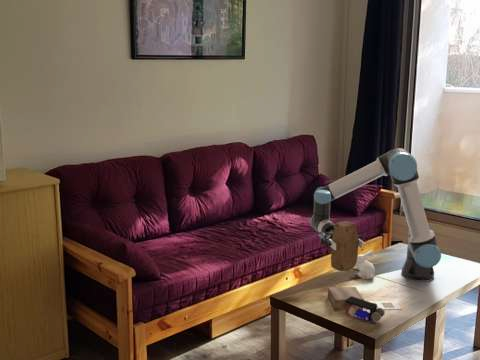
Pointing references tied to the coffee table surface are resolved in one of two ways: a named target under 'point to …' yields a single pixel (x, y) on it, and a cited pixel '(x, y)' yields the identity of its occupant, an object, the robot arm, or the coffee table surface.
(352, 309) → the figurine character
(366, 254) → the rabbit
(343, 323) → the coffee table surface
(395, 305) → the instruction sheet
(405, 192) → the robot arm
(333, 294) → the tower base
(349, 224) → the block
